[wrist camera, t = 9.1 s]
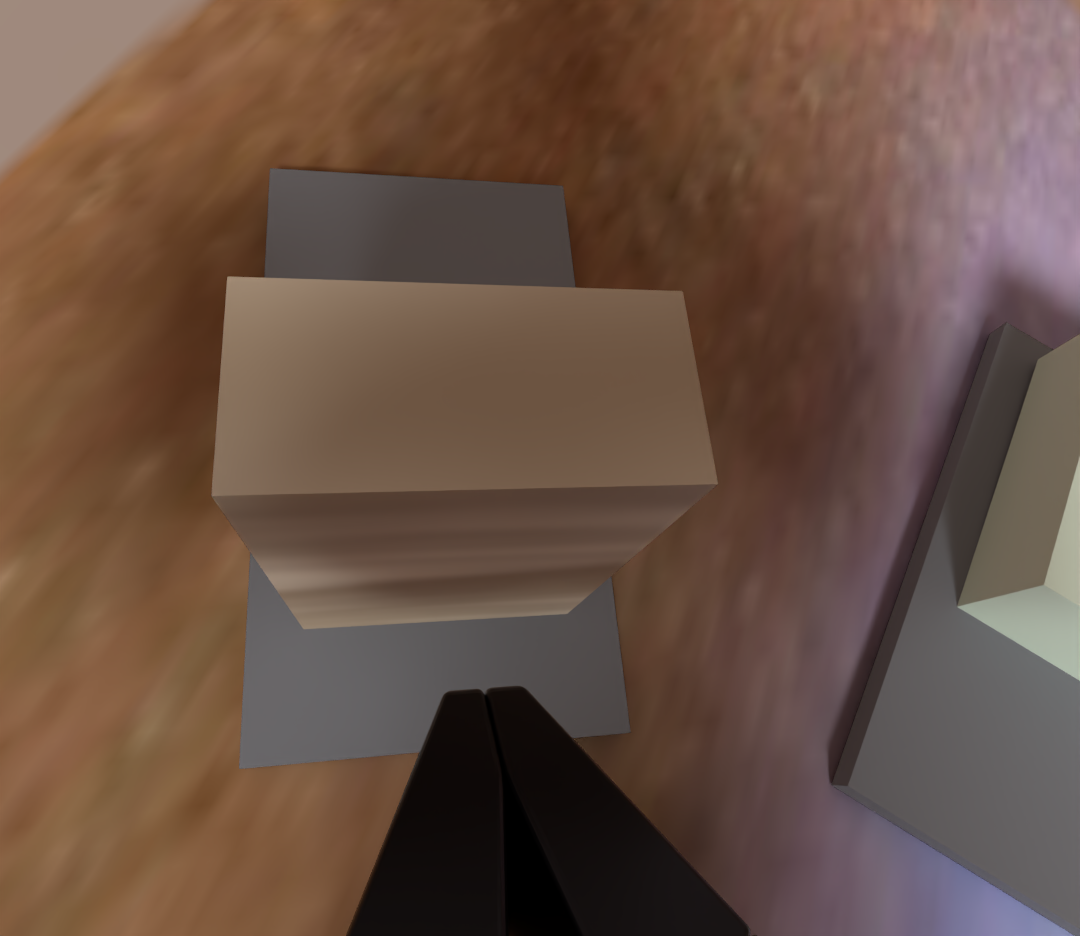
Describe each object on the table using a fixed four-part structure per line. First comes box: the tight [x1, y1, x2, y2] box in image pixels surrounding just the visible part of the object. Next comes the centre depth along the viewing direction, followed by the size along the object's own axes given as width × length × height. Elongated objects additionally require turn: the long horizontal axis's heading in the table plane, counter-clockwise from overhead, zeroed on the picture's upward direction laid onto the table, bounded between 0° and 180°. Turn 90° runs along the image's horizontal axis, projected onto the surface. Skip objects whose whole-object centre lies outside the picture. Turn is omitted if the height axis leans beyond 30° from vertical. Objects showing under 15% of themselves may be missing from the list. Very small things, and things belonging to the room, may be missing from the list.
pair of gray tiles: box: [239, 168, 1080, 936], centre depth 17 cm, size 25×18×1 cm
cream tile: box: [211, 277, 718, 629], centre depth 11 cm, size 2×5×8 cm, turn 94°
